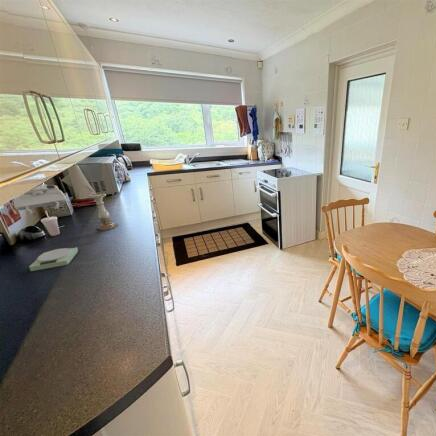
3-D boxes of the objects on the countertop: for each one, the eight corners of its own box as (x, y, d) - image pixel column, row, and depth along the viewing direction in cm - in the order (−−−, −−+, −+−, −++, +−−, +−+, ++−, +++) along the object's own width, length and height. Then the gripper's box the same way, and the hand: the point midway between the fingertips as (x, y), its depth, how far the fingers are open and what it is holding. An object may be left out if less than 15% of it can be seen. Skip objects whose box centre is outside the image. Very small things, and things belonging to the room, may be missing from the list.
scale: (30, 271, 96) (27, 265, 95) (45, 256, 107) (43, 251, 106) (67, 264, 101) (65, 259, 100) (78, 251, 112) (76, 245, 111)
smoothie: (63, 231, 133) (54, 208, 128) (62, 235, 128) (53, 211, 123) (48, 234, 129) (37, 210, 124) (46, 238, 124) (36, 214, 119)
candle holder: (110, 223, 143) (100, 192, 136) (120, 225, 140) (110, 193, 133) (95, 229, 136) (83, 195, 128) (104, 231, 133) (93, 197, 125)
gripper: (7, 192, 120) (16, 213, 118) (60, 185, 134) (69, 204, 132) (10, 198, 124) (19, 219, 122) (62, 191, 139) (70, 210, 136)
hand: (45, 211), depth 127 cm, fingers open, 8 cm apart
